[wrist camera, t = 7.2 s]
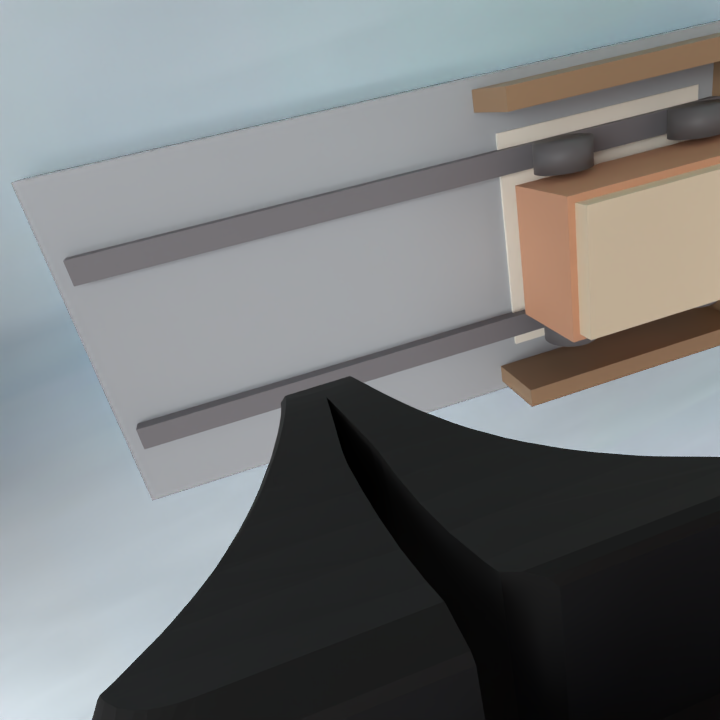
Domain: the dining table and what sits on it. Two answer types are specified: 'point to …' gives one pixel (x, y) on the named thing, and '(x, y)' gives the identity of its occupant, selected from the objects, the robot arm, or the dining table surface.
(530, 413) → the dining table surface
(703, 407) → the dining table surface
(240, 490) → the dining table surface
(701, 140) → the cart
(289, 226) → the dock
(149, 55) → the dining table surface
